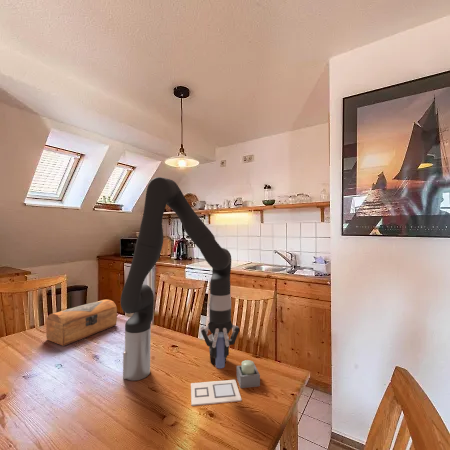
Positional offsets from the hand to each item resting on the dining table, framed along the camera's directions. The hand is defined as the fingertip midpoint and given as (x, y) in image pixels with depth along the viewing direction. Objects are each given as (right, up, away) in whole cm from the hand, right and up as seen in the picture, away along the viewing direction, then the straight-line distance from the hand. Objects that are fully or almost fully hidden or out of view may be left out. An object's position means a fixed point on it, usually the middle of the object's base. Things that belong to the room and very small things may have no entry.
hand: (220, 356), depth 87 cm
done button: (+10, -10, +5) cm, 15 cm away
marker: (0, -3, 0) cm, 3 cm away
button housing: (+10, -12, +5) cm, 16 cm away
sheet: (-2, -11, -1) cm, 12 cm away
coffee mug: (-1, -12, +20) cm, 23 cm away
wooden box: (-73, -12, +47) cm, 88 cm away
